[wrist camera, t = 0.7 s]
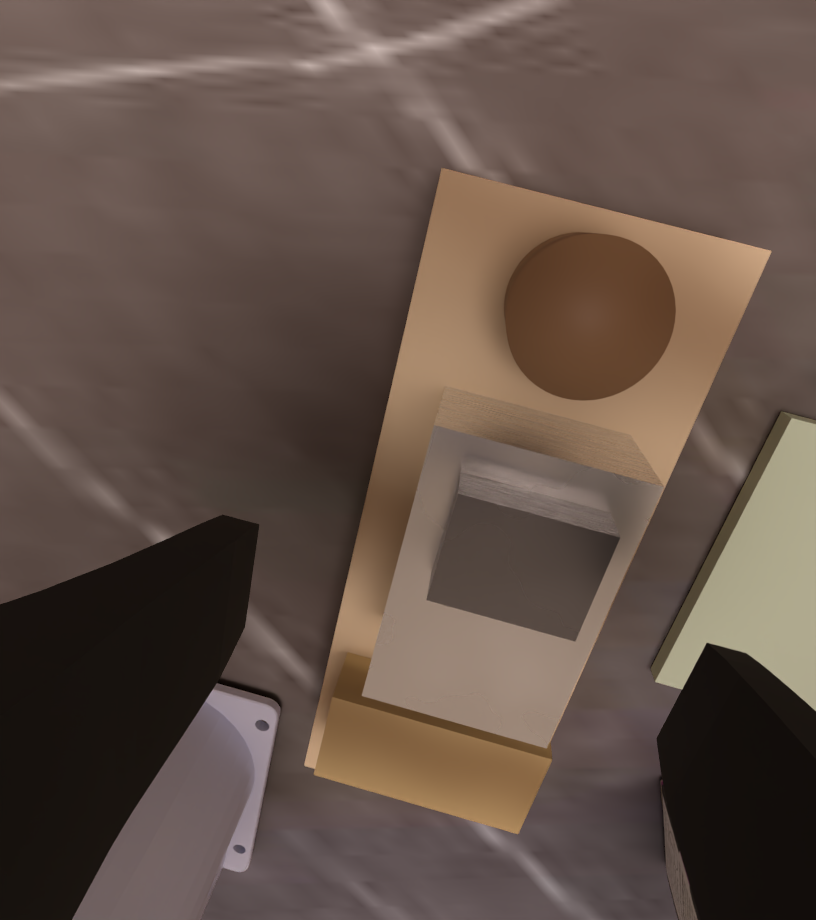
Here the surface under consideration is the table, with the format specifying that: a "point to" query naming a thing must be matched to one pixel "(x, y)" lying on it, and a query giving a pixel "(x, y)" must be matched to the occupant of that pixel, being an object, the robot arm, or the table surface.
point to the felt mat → (759, 571)
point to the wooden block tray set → (533, 386)
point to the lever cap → (508, 565)
